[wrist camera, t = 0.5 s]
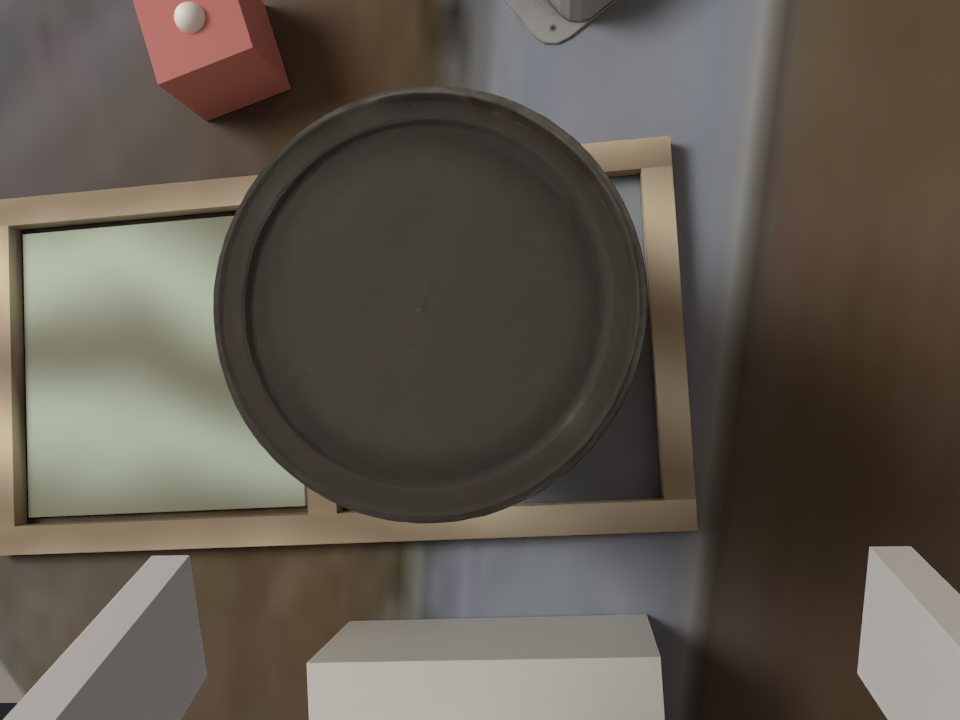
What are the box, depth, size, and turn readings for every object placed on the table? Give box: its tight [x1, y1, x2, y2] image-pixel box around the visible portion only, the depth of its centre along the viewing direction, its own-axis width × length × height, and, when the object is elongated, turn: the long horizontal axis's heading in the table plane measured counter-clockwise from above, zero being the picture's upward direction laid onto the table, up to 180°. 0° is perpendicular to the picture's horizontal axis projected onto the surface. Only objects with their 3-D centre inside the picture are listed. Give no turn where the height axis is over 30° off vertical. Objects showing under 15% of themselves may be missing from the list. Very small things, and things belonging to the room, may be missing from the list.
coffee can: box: [213, 86, 647, 524], centre depth 25 cm, size 10×10×14 cm
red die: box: [133, 0, 291, 121], centre depth 32 cm, size 4×4×5 cm
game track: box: [0, 136, 698, 556], centre depth 33 cm, size 15×30×1 cm, turn 93°
